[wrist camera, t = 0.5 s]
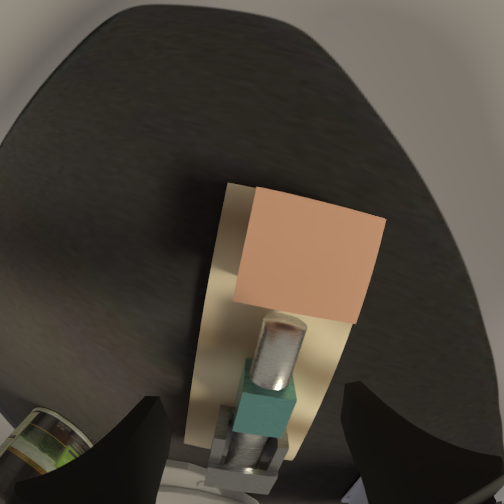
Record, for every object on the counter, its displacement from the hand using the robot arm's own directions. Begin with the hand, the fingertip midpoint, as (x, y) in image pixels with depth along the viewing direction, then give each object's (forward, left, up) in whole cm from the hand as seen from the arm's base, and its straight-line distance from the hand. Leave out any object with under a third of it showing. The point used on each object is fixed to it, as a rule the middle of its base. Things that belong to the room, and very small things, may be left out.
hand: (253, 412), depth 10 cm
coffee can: (-23, +19, -10) cm, 31 cm away
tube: (-6, -1, -9) cm, 11 cm away
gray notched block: (-11, -1, -10) cm, 15 cm away
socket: (+5, -1, -10) cm, 11 cm away
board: (-3, -1, -10) cm, 10 cm away
